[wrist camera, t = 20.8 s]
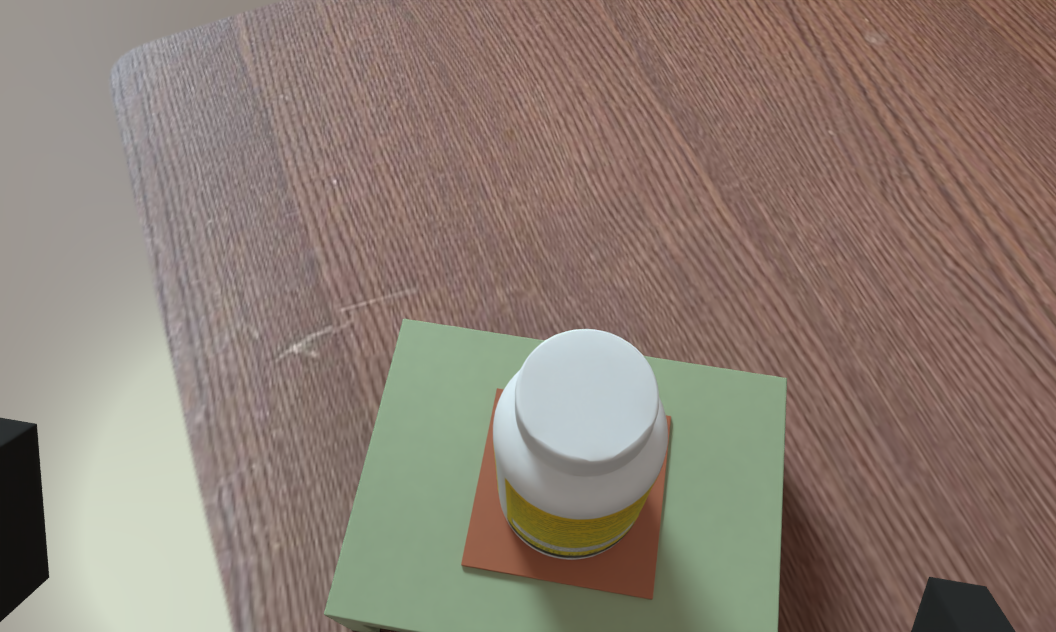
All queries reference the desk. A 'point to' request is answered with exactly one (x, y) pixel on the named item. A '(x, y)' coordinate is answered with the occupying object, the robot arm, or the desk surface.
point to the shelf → (517, 569)
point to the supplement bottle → (578, 443)
